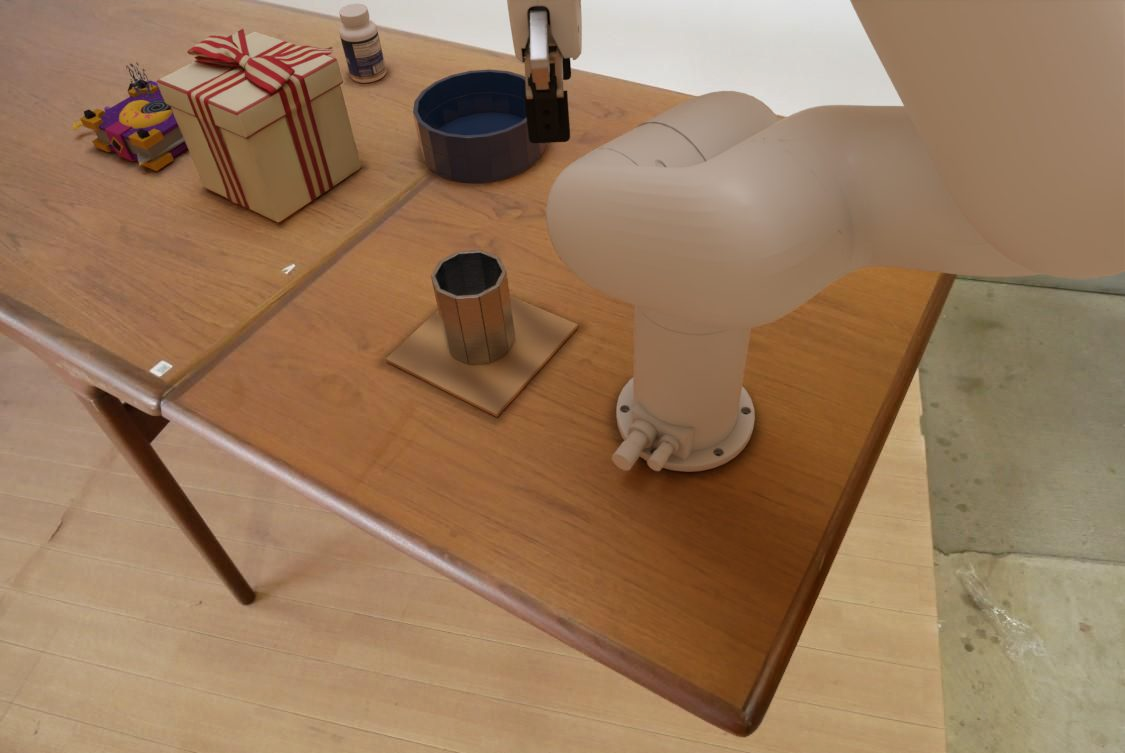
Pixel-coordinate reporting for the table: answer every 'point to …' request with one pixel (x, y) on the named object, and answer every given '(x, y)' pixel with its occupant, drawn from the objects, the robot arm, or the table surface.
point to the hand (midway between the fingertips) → (551, 108)
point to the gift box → (263, 121)
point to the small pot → (474, 306)
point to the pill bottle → (361, 44)
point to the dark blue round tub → (475, 127)
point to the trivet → (494, 380)
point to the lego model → (137, 126)
